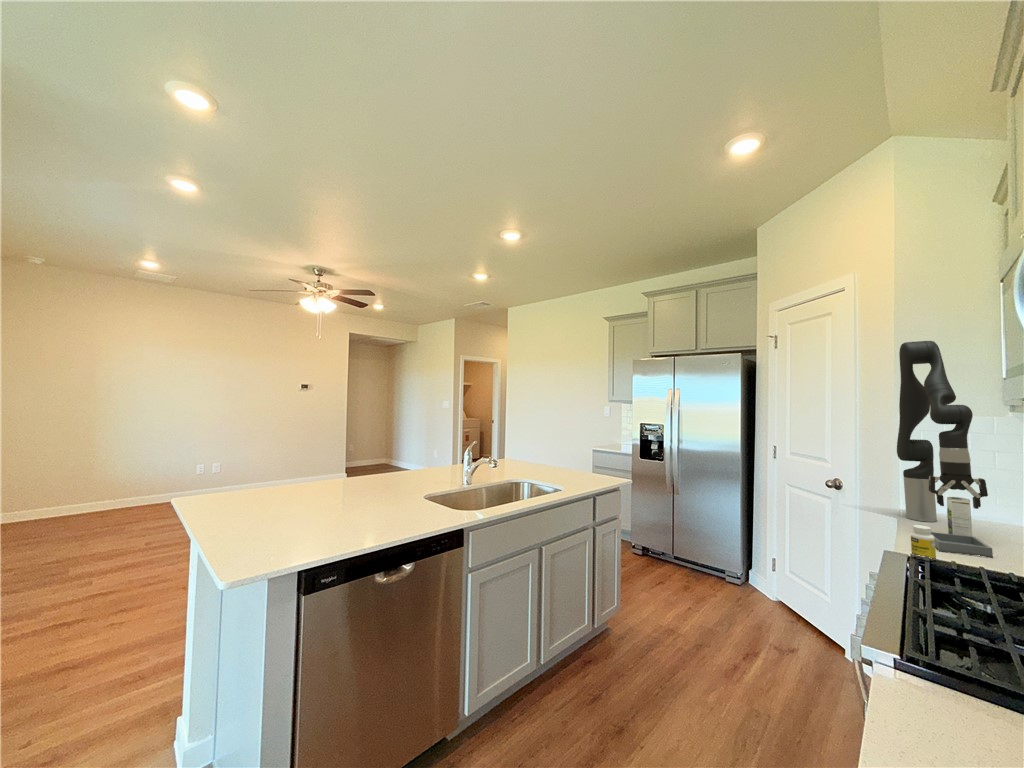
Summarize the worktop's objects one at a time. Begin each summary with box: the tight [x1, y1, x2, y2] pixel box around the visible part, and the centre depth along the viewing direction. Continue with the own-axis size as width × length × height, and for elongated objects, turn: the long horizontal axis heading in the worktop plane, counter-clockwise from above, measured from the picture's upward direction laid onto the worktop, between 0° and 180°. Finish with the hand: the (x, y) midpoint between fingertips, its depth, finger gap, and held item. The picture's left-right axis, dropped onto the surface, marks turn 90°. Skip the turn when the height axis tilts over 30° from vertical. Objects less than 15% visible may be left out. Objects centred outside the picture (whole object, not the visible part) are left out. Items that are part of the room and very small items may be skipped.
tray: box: [930, 531, 994, 559], centre depth 139 cm, size 14×12×3 cm
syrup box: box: [946, 496, 973, 536], centre depth 148 cm, size 6×6×14 cm
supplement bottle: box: [910, 524, 937, 560], centre depth 130 cm, size 5×5×10 cm
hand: (958, 507), depth 148 cm, fingers open, 8 cm apart
